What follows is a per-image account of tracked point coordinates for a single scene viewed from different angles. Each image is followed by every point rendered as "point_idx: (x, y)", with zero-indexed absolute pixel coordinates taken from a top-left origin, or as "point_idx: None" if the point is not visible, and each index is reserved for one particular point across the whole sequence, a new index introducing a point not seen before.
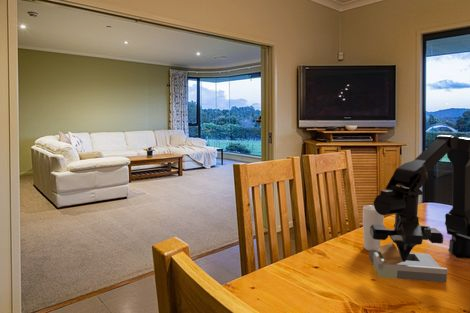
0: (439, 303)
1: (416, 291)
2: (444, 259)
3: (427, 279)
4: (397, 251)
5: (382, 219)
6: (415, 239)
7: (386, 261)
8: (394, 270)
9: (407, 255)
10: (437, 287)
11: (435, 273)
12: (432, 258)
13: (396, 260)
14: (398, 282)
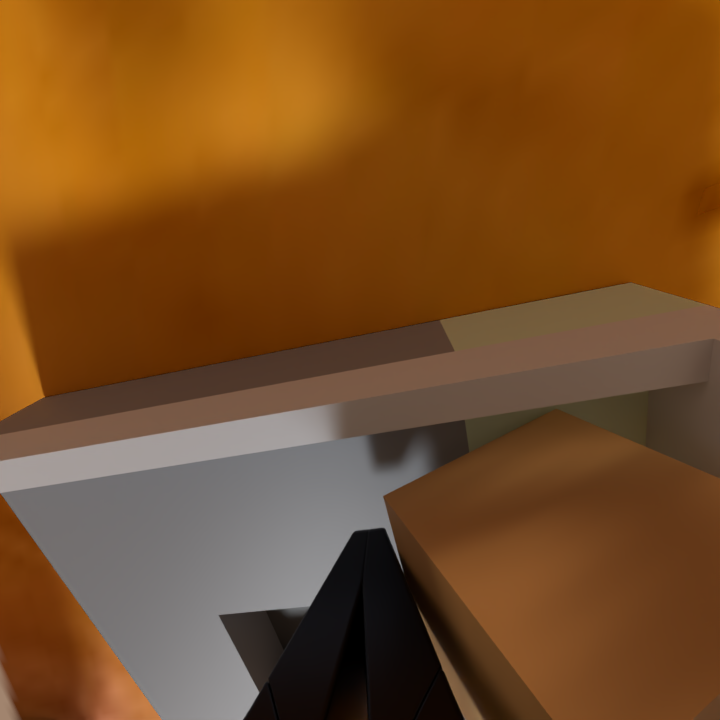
0: None
1: (259, 84)
2: (114, 697)
3: (169, 377)
4: (530, 661)
5: None
6: None
7: (627, 447)
8: (491, 341)
9: (315, 616)
10: (88, 279)
11: (60, 423)
12: (134, 677)
13: (482, 489)
14: (432, 239)
